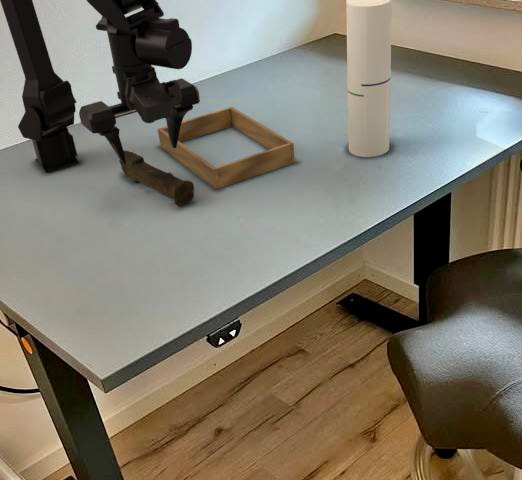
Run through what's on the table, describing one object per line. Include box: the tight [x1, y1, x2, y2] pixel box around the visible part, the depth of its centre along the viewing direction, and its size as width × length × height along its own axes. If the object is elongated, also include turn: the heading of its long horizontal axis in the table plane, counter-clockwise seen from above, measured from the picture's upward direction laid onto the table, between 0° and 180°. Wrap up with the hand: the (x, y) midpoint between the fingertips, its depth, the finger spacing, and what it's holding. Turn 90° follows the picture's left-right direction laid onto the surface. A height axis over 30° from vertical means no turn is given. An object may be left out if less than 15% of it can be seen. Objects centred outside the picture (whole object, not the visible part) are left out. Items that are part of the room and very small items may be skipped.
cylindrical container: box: [345, 0, 393, 158], centre depth 133 cm, size 7×7×25 cm
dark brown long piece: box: [119, 150, 195, 208], centre depth 134 cm, size 19×4×5 cm, turn 39°
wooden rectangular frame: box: [157, 106, 296, 190], centre depth 143 cm, size 16×22×4 cm
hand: (149, 155), depth 132 cm, fingers open, 9 cm apart
